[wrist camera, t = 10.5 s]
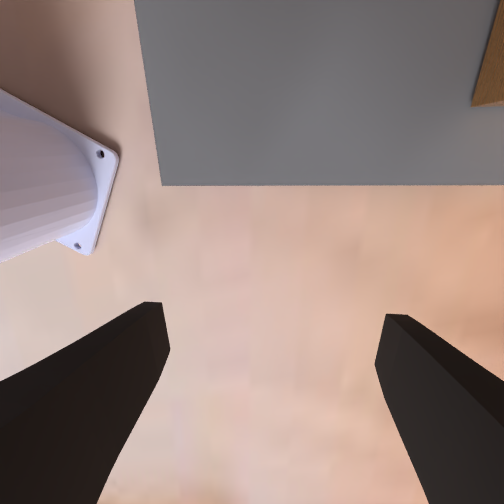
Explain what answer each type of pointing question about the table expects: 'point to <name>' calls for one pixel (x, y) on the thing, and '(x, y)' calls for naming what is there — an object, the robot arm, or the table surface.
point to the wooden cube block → (492, 67)
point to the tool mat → (320, 92)
